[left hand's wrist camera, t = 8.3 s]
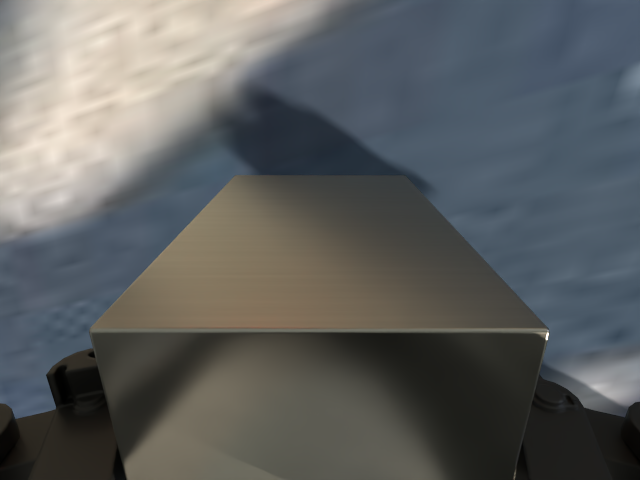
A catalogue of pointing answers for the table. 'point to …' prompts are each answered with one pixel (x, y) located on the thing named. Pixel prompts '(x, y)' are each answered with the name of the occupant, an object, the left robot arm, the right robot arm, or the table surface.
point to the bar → (319, 342)
